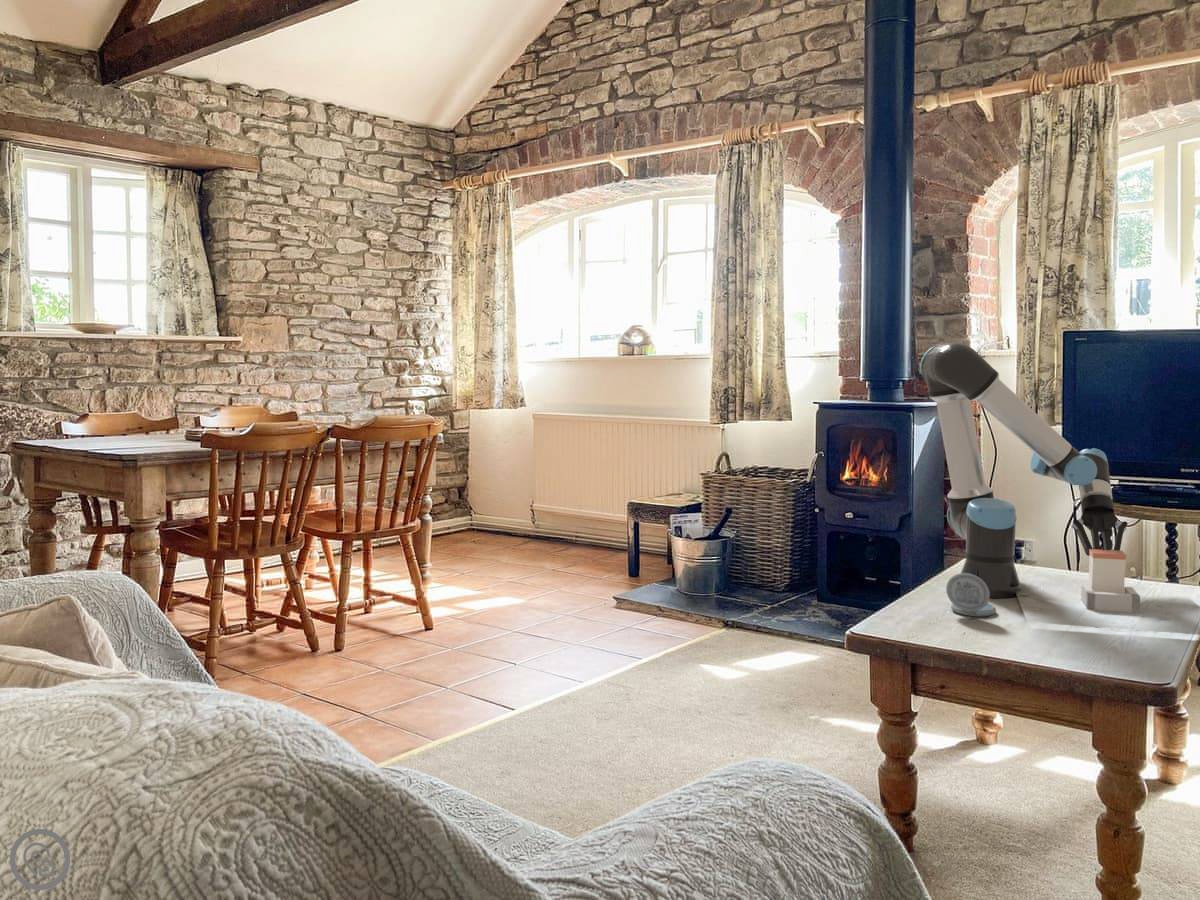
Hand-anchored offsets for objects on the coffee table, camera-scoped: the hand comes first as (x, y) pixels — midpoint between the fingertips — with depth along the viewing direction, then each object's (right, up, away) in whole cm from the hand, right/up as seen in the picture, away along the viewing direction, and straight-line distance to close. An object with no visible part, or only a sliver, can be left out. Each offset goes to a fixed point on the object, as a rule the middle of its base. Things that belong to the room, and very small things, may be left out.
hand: (1105, 578), depth 244 cm
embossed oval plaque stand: (-36, -7, -8) cm, 38 cm away
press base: (-2, -6, -5) cm, 9 cm away
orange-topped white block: (-2, -5, -3) cm, 6 cm away
